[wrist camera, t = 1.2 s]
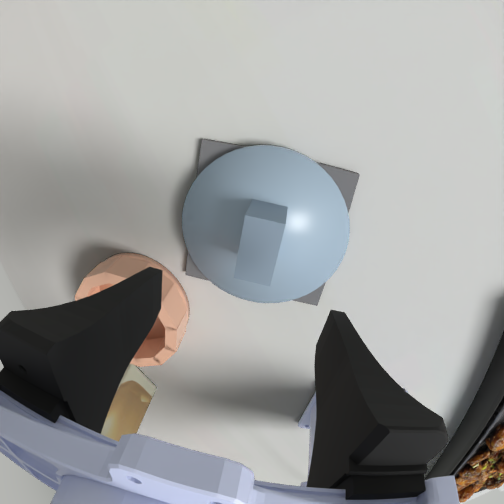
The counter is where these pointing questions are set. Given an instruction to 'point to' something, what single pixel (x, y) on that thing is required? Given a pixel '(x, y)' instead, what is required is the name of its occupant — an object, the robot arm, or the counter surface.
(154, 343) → the bowl
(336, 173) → the mat
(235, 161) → the lid
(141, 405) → the skincare box
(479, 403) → the food platter
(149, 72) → the counter surface
